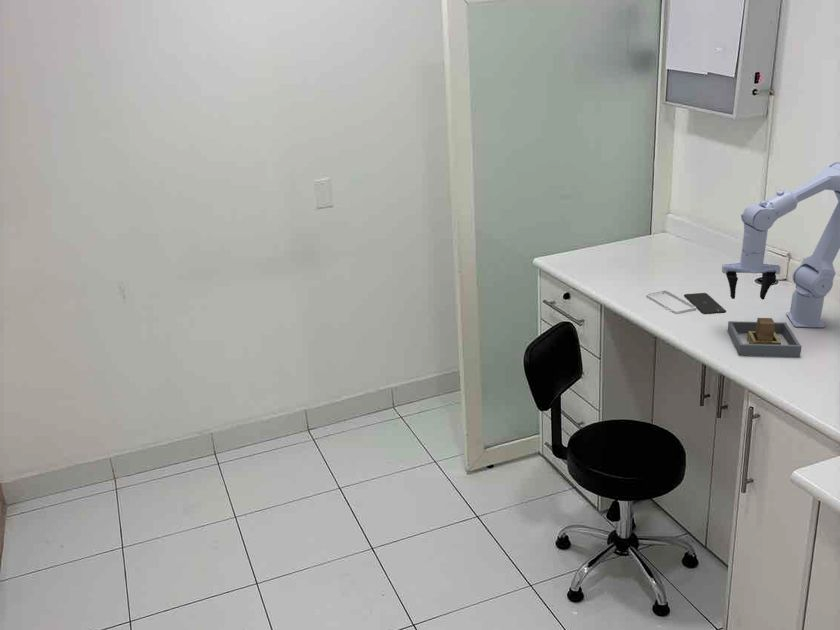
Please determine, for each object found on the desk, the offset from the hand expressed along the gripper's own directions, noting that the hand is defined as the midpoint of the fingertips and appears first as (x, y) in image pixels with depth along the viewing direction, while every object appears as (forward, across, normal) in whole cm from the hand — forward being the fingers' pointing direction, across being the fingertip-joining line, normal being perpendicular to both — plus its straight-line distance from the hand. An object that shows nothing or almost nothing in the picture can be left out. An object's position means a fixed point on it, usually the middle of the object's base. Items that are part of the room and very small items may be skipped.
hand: (747, 297), depth 231 cm
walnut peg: (+9, +3, -10) cm, 14 cm away
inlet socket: (+9, +3, -10) cm, 14 cm away
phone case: (+10, -17, +18) cm, 27 cm away
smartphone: (+10, -7, +18) cm, 22 cm away
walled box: (+9, +3, -9) cm, 13 cm away
